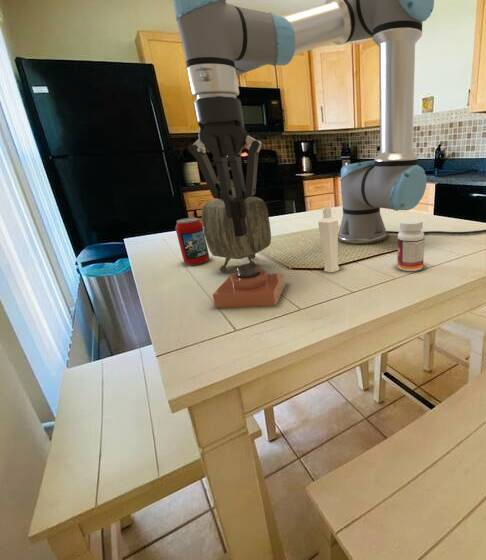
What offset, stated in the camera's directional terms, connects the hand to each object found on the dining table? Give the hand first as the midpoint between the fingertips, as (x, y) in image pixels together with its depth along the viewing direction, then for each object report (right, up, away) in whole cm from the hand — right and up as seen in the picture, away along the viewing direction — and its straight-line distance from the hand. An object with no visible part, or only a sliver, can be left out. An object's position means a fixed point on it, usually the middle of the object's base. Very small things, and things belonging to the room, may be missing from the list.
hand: (241, 234), depth 66 cm
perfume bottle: (+17, -7, +17) cm, 25 cm away
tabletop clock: (-6, -6, +23) cm, 24 cm away
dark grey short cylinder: (+1, -8, +3) cm, 9 cm away
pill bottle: (+36, -6, +16) cm, 40 cm away
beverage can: (-22, -4, +29) cm, 37 cm away
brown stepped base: (+1, -12, +5) cm, 13 cm away
